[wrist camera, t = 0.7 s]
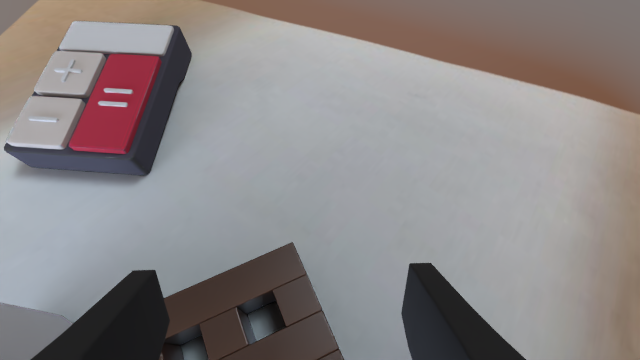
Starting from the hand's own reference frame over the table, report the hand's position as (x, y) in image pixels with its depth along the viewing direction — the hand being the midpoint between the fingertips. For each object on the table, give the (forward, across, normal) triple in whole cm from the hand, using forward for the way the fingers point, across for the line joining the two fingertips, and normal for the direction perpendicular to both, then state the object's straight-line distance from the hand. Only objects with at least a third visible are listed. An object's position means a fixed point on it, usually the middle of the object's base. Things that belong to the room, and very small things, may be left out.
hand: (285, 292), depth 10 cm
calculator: (+27, +18, +2) cm, 32 cm away
